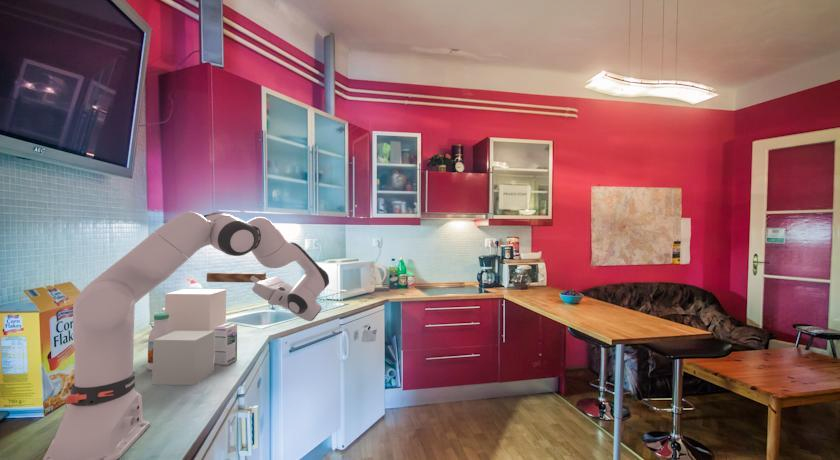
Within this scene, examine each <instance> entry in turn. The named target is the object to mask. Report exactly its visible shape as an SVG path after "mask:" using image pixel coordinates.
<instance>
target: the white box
mask: <svg viewBox="0 0 840 460" xmlns="http://www.w3.org/2000/svg"><path fill="white" fill-rule="evenodd" d="M164 295H165V296H164V298H165V299H164V308H165V312H164V313H168V314H169V319H168V323H169V326H170V327H171V329H172V331H173V332H174V331H214V328H215V327H218V326H221V325H224V324H227V323H226V319H227V318H226V317H227V316H226V315H227V313H226V312H227V288H226V289H225V288H223V289H216V288H215V289H214V288H213V289H212V288H208V289H206V288H183V289H179V290H176V291H175V290H174V291H172V292H171V291H170V292H167V293H165V294H164Z"/></svg>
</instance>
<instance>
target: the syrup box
mask: <svg viewBox="0 0 840 460" xmlns="http://www.w3.org/2000/svg"><path fill="white" fill-rule="evenodd" d="M237 360H238V324H236V323H226V324H224V325H221V326H218V327H215V328H214V365H221V366H222V365H223V366H228V365H229V364H231V363H233V362H235V361H237Z"/></svg>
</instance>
